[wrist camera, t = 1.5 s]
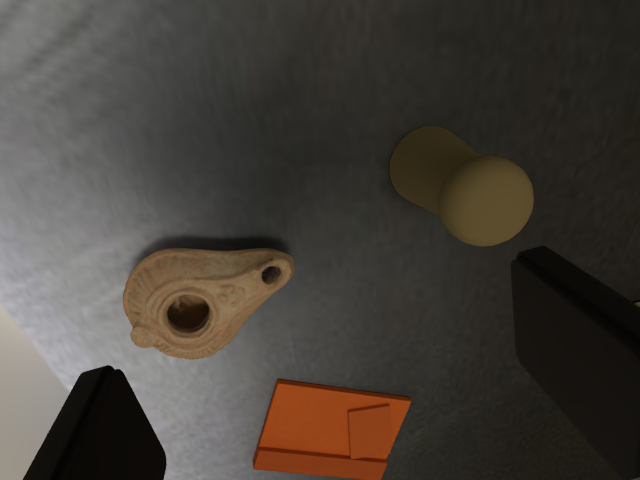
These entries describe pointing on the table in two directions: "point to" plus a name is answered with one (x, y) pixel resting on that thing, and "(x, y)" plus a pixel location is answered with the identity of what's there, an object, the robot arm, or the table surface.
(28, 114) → the table surface
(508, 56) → the table surface
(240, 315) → the pottery oil lamp
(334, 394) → the rust cloth
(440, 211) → the cork
